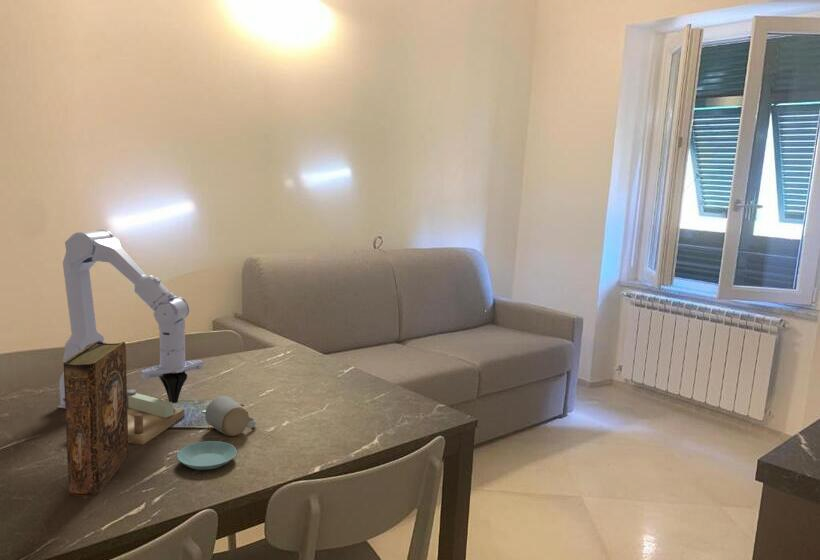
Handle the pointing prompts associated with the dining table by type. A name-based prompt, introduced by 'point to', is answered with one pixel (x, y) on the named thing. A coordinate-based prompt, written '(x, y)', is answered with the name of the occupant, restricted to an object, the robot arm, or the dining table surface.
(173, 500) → the dining table surface
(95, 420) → the book
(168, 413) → the leg
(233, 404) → the ceramic mug
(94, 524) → the dining table surface
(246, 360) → the dining table surface
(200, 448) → the saucer
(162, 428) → the stool seat
